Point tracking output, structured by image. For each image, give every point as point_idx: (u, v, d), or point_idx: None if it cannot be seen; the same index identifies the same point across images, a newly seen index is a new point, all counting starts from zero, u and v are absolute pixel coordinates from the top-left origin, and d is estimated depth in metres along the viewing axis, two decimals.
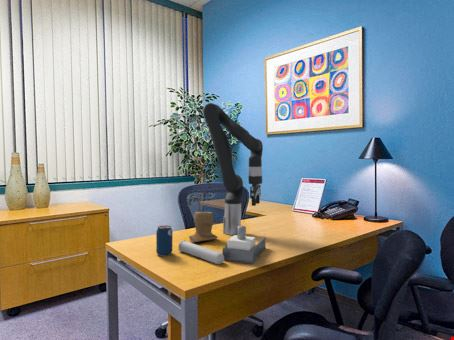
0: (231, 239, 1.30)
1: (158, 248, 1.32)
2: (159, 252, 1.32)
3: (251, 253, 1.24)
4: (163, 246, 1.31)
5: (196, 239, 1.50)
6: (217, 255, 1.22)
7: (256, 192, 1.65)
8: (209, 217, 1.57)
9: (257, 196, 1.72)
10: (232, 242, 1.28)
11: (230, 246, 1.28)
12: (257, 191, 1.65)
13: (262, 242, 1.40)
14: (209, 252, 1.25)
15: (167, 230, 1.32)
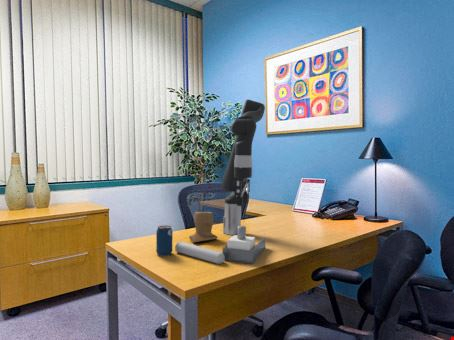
0: (231, 239, 1.30)
1: (158, 248, 1.32)
2: (159, 252, 1.32)
3: (251, 253, 1.24)
4: (163, 246, 1.31)
5: (196, 239, 1.50)
6: (218, 255, 1.23)
7: (243, 188, 1.27)
8: (209, 218, 1.57)
9: (245, 194, 1.34)
10: (232, 242, 1.28)
11: (230, 246, 1.28)
12: (244, 187, 1.27)
13: (262, 242, 1.40)
14: (209, 252, 1.25)
15: (167, 230, 1.32)
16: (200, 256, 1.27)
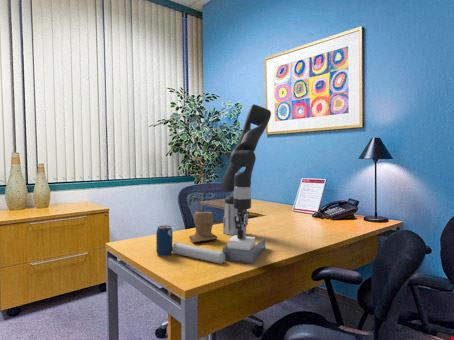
0: (231, 239, 1.30)
1: (158, 248, 1.32)
2: (159, 252, 1.32)
3: (251, 253, 1.24)
4: (163, 246, 1.31)
5: (196, 239, 1.50)
6: (219, 254, 1.23)
7: (243, 221, 1.28)
8: (209, 218, 1.57)
9: None
10: (232, 242, 1.28)
11: (230, 246, 1.28)
12: (244, 219, 1.29)
13: (262, 242, 1.40)
14: (210, 252, 1.25)
15: (167, 230, 1.32)
16: (200, 256, 1.27)
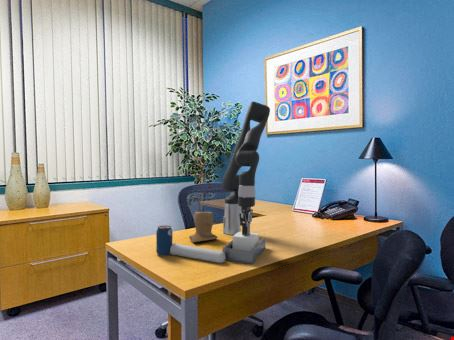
0: (236, 235, 1.36)
1: (158, 248, 1.32)
2: (159, 252, 1.32)
3: (251, 253, 1.24)
4: (163, 246, 1.31)
5: (196, 239, 1.50)
6: (220, 254, 1.24)
7: (247, 218, 1.34)
8: (209, 217, 1.57)
9: None
10: (237, 238, 1.34)
11: (235, 241, 1.35)
12: (248, 216, 1.35)
13: (262, 242, 1.40)
14: (210, 252, 1.25)
15: (167, 230, 1.32)
16: (200, 257, 1.27)
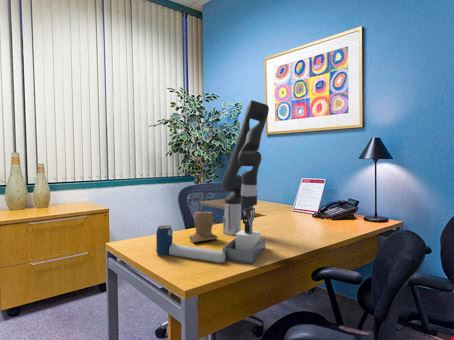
0: (239, 233, 1.40)
1: (158, 248, 1.32)
2: (159, 252, 1.32)
3: (251, 253, 1.24)
4: (163, 246, 1.31)
5: (196, 239, 1.50)
6: (220, 254, 1.24)
7: (250, 217, 1.38)
8: (209, 217, 1.57)
9: (249, 221, 1.43)
10: (239, 236, 1.38)
11: (237, 239, 1.38)
12: (251, 215, 1.39)
13: (262, 242, 1.40)
14: (210, 252, 1.26)
15: (167, 230, 1.32)
16: (200, 257, 1.26)
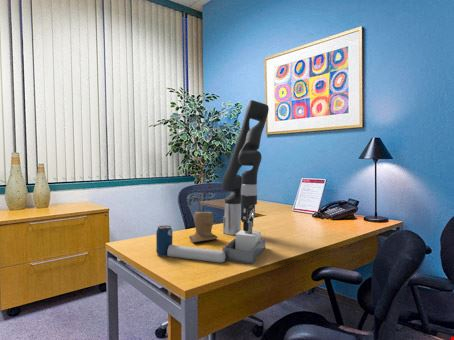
0: (239, 233, 1.40)
1: (158, 248, 1.32)
2: (159, 252, 1.32)
3: (251, 253, 1.24)
4: (163, 246, 1.31)
5: (196, 239, 1.50)
6: (221, 254, 1.24)
7: (249, 215, 1.37)
8: (209, 217, 1.57)
9: (250, 218, 1.45)
10: (240, 235, 1.38)
11: (237, 239, 1.39)
12: (250, 213, 1.38)
13: (262, 242, 1.40)
14: (210, 252, 1.25)
15: (167, 230, 1.32)
16: (200, 257, 1.26)
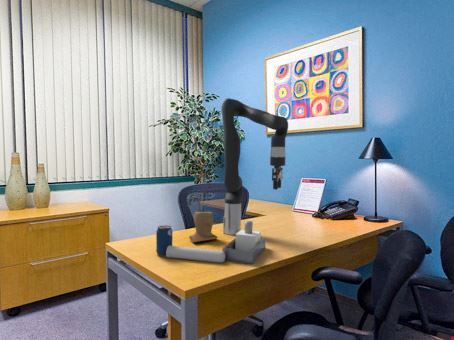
0: (239, 233, 1.40)
1: (158, 248, 1.32)
2: (159, 252, 1.32)
3: (251, 253, 1.24)
4: (163, 246, 1.31)
5: (196, 239, 1.50)
6: (221, 254, 1.24)
7: (278, 175, 1.50)
8: (209, 218, 1.57)
9: (279, 180, 1.58)
10: (240, 235, 1.38)
11: (237, 239, 1.39)
12: (279, 174, 1.51)
13: (262, 242, 1.40)
14: (210, 252, 1.25)
15: (167, 230, 1.32)
16: (199, 258, 1.26)
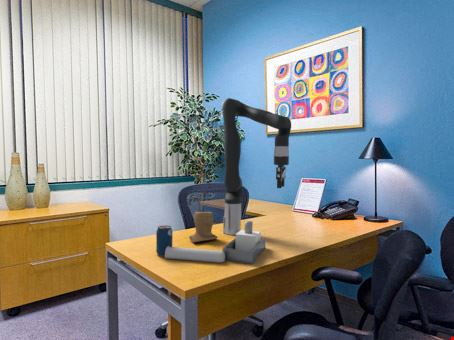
0: (239, 233, 1.40)
1: (158, 248, 1.32)
2: (159, 252, 1.32)
3: (251, 253, 1.24)
4: (163, 246, 1.31)
5: (196, 239, 1.50)
6: (221, 254, 1.24)
7: (282, 174, 1.52)
8: (209, 217, 1.57)
9: (282, 179, 1.60)
10: (240, 235, 1.38)
11: (237, 239, 1.39)
12: (283, 173, 1.53)
13: (262, 242, 1.40)
14: (210, 252, 1.25)
15: (167, 230, 1.32)
16: (199, 258, 1.25)
